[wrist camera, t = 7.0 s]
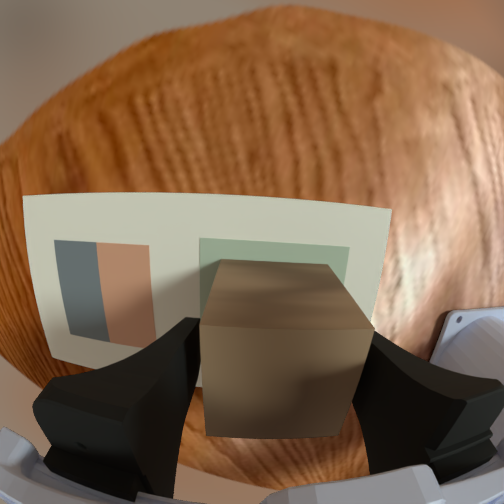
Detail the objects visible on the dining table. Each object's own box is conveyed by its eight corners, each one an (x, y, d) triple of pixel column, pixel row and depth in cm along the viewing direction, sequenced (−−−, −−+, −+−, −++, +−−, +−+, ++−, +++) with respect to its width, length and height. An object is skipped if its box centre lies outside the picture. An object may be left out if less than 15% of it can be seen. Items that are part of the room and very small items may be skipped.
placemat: (389, 208, 13) (392, 209, 13) (349, 387, 16) (350, 389, 16) (24, 195, 13) (22, 196, 12) (53, 356, 16) (52, 357, 15)
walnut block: (327, 264, 13) (374, 328, 8) (313, 351, 15) (338, 435, 9) (221, 258, 13) (199, 324, 8) (220, 348, 15) (205, 435, 9)
